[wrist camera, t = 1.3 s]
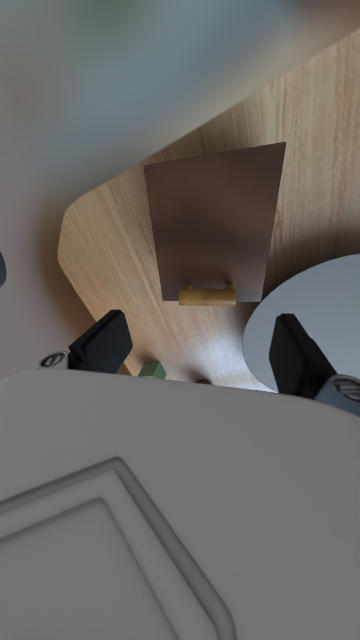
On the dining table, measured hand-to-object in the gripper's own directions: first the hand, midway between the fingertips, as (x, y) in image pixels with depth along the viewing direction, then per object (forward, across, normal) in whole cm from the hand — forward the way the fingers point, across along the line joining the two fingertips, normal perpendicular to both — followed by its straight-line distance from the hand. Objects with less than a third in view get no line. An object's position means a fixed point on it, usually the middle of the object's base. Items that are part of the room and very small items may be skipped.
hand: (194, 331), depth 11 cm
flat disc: (+22, -19, +13) cm, 32 cm away
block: (+22, +15, +27) cm, 38 cm away
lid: (+13, 0, -4) cm, 14 cm away
